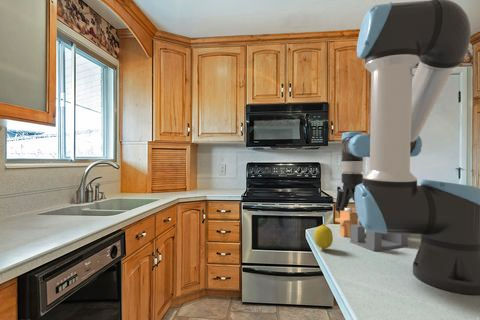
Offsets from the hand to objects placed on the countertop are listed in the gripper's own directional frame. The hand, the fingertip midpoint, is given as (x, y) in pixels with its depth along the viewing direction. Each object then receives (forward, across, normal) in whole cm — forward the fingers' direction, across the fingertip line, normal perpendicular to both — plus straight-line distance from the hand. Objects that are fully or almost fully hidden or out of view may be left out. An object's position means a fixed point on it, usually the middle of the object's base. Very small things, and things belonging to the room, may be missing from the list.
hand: (351, 232), depth 104 cm
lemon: (+1, -10, +21) cm, 24 cm away
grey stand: (+1, -12, 0) cm, 12 cm away
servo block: (+1, 0, 0) cm, 1 cm away
